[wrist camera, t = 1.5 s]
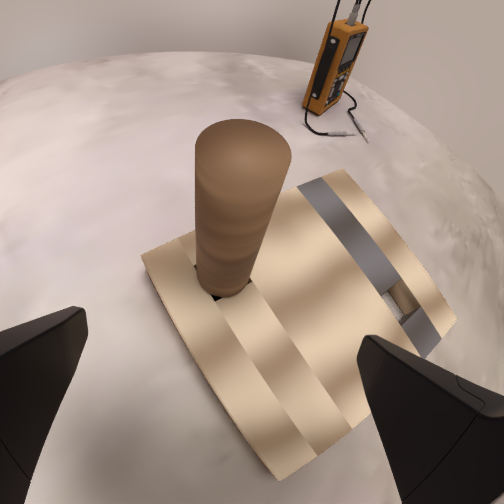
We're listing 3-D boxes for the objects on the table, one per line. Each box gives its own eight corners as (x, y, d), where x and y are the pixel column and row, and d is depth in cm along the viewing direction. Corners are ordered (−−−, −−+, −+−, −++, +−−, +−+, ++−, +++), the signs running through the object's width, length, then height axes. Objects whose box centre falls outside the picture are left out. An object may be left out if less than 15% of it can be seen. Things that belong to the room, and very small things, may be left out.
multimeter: (355, 160, 32) (432, 12, 15) (285, 117, 34) (329, -33, 17) (388, 118, 39) (443, 13, 22) (333, 85, 41) (373, -22, 23)
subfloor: (440, 326, 24) (457, 318, 22) (271, 473, 17) (279, 481, 15) (334, 184, 30) (342, 168, 28) (146, 269, 23) (140, 255, 20)
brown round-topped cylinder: (253, 295, 23) (310, 166, 11) (212, 317, 22) (225, 198, 10) (229, 258, 24) (257, 111, 12) (189, 277, 23) (179, 133, 11)
